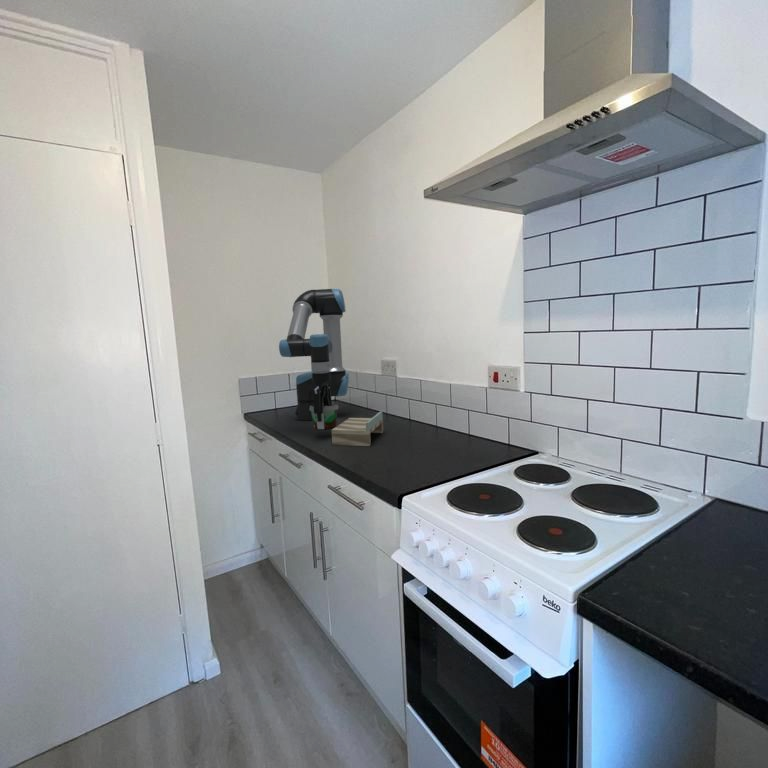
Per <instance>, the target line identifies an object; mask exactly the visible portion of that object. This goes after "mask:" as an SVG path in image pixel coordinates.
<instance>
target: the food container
mask: <svg viewBox="0 0 768 768" xmlns="http://www.w3.org/2000/svg"><path fill="white" fill-rule="evenodd" d="M309 410H310V411H311V413H312V419H313V420H312V423H313V424H312V425H313V429H314V430H316V431H329V430H330V431H331V430H332V429H334V428H335V427H337V418H338V417H337V416H338V414H337V413H338V410H339V405H338V403H336V404H332V406H326V405H324V404H323V411H322V413H323V414H324V429H318V428H317V414H314V406H311V405H310V409H309Z"/></svg>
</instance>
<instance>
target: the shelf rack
mask: <svg viewBox="0 0 768 768" xmlns="http://www.w3.org/2000/svg"><path fill="white" fill-rule="evenodd" d="M383 419H384V416H383V411H381V410H380V411H379V412H377V413H376V414H374V416H372V417H348V418H347V419H345V420H344V421H342V422H341V423H340V424H338V425H336V427H335V428H334V429H331V445H332V446H349V447H350V446H353V447H370V446H371V445H372V443H371V434H383V433H384V420H383Z"/></svg>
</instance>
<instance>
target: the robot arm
mask: <svg viewBox="0 0 768 768" xmlns="http://www.w3.org/2000/svg"><path fill="white" fill-rule="evenodd" d="M292 313H293V314H292V317H291V321H290V325H289V329H288V333H287V336H286V338H285V339H281V340H280V341H279V343H278V350H279V355H280V356H281V357H282V358H283V357H284V358H298V357H310V366H311V367H310V368H311V371H310V372H305V373H301V374H298V375H297V376H296V378H295V380H296V381H295V382H296V383H295V386H296V388H295V389H296V401H297V404H296V408H295V412H294V419H295V420H298V421H313V419H312V413H311V411H310V410H309V409H310V405H311V406H314V414H317V428H318V429H324V414H323V413H322V411H323V405H326V406H333V403H332V397H337V398H338V397H344V396H347V394H348V390H349V389H348V388H349V381H350V380H349V378H350V377H349V376H350V375H349V374H350V373H348V372H346V369H345V367H343V355H342V354H343V353H342V352H343V351H342V350H343V349H342V335H341V334H342V333H341V331H342V330H341V318H342V317H343V316H344V315H343V313H346V303H345V298H344V295H343V292H342V290H341V289H339V288H325V289H324V288H322V289H321V288H320V289H309V290H306V291H304V292H303V293H301V294H300V295H299V296H298V297H297V298H296V299H295V300H294V302H293V305H292ZM312 314H319V318H321V320H322V325H323V327H322V328H323V329H322V330H323V333H322V334H321V333H320V334H317V333H316V334H310V336H309V338H306V334H307V328H308V324H309V318H310V317H311V316H312Z"/></svg>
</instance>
